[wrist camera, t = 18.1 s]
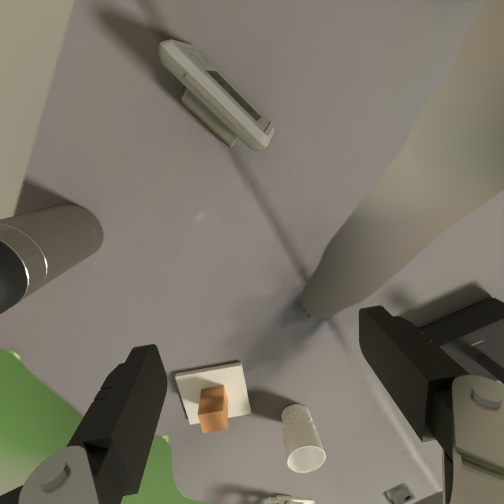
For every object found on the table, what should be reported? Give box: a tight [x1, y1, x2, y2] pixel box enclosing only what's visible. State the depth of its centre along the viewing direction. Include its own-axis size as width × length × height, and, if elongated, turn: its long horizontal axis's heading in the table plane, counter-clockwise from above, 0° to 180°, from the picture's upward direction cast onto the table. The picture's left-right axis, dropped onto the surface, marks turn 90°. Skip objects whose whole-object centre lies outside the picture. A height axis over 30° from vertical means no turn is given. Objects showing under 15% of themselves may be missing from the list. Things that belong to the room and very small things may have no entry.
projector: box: [420, 298, 504, 384], centre depth 49 cm, size 19×17×20 cm
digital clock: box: [158, 39, 274, 151], centre depth 34 cm, size 16×9×11 cm, turn 37°
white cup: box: [281, 404, 326, 473], centre depth 57 cm, size 8×8×10 cm
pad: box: [175, 362, 251, 425], centre depth 57 cm, size 14×14×1 cm
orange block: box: [198, 385, 228, 433], centre depth 53 cm, size 5×5×6 cm
